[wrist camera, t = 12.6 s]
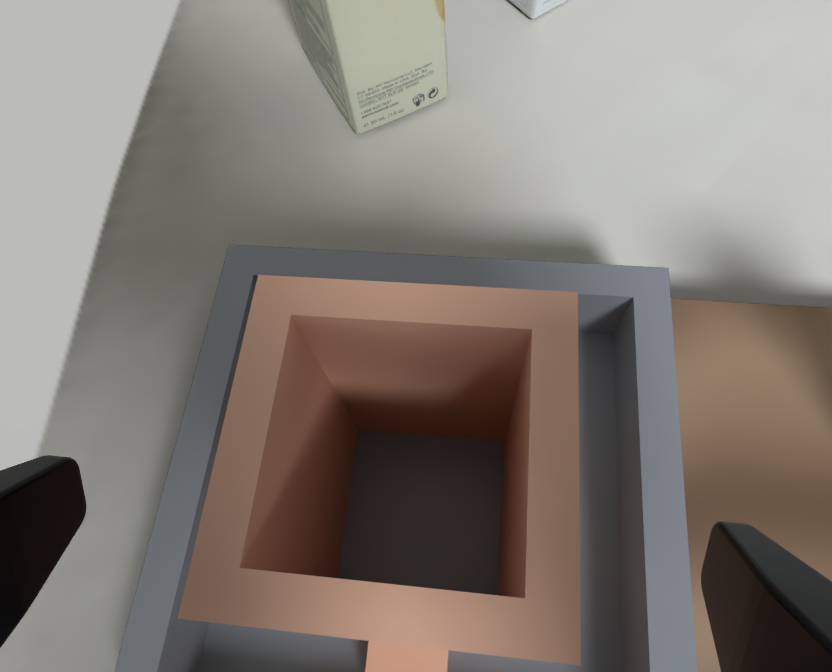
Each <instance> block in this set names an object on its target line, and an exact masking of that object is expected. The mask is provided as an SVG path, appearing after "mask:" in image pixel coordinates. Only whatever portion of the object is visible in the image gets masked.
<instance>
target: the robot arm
mask: <svg viewBox="0 0 832 672" xmlns="http://www.w3.org/2000/svg"><path fill="white" fill-rule="evenodd" d="M85 513H86V500H85V495H84V490H83V485H82V480H81V475H80V470H79V466H78V464H77V462H76V461H75V460H74V459H72V458H70V457H60V456H49V455H48V456H42V457H39V458H36V459H33V460H30V461H27V462H24V463H22V464H18V465H16V466H13V467H10V468H7V469H4V470H1V471H0V648H1V646H2V645H3V644H4V642H5V641H6V640H7V638H8V637H9V636H10V634H11V633H12V632H13V630H14V629H15V627H16V626H17V625H18V623H19V622H20V620H21V619H22V618H23V616H24V615H25V613H26V612H27V610H28V609H29V607H30V606H31V604H32V603H33V601H34V599H35V598H36V596H37V595H38V593H39V591H40V590H41V588H42V587H43V585H44V583H45V582H46V580H47V579H48V577H49V575H50V574H51V572H52V570H53V569H54V567H55V566H56V564H57V562H58V561H59V559H60V557H61V556H62V554H63V553H64V551H65V549H66V548H67V546H68V545H69V543H70V541H71V540H72V538H73V536H74V535H75V533H76V532H77V530H78V528H79V527H80V525H81V523H82V522H83V519H84V517H85ZM701 587H702V593H703V597H704V601H705V605H706V610H707V614H708V618H709V622H710V627H711V631H712V635H713V639H714V644H715V648H716V652H717V656H718V661H719V665H720V669H721V672H832V581H830V580H829V579H828V578H826V577H825V576H823V575H822V574H820V573H819V572H818V571H816V570H815V569H813V568H812V567H810V566H809V565H807V564H806V563H805V562H803V561H802V560H800V559H799V558H797V557H796V556H795V555H793V554H792V553H790V552H789V551H787V550H786V549H785V548H783V547H782V546H780V545H779V544H777V543H776V542H775V541H773V540H772V539H770V538H769V537H767V536H766V535H765V534H763V533H762V532H760V531H759V530H757V529H756V528H754V527H753V526H751V525H749V524H745V523H734V522H724V521H719V522H717V523H716V524H714V526H713V528H712V530H711V533H710V537H709V541H708V545H707V550H706V554H705V558H704V562H703V566H702V571H701Z"/></svg>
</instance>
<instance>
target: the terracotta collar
mask: <svg viewBox="0 0 832 672" xmlns="http://www.w3.org/2000/svg"><path fill="white" fill-rule="evenodd" d="M359 430H361V431H374V432H386V433H398V434H411V435H423V436H436V437H448V438H461V439H473V440H486V441H498V442H504V459H503V482H502V506H501V529H500V553H499V576H498V595H489V594H480V593H471V592H461V591H452V590H442V589H433V588H424V587H414V586H405V585H396V584H386V583H377V582H368V581H358V580H349V579H339V578H338V573H339V566H340V559H341V552H342V545H343V538H344V531H345V524H346V517H347V510H348V503H349V496H350V488H351V481H352V474H353V467H354V460H355V453H356V446H357V439H358V432H359ZM178 619H187V620H195V621H204V622H212V623H221V624H229V625H238V626H246V627H255V628H263V629H272V630H280V631H289V632H297V633H306V634H315V635H323V636H332V637H340V638H349V639H357V640H366V641H369V643H368V651H367V660H366V668H365V672H448V658H449V650H451V651H460V652H468V653H477V654H485V655H494V656H502V657H511V658H519V659H528V660H536V661H545V662H553V663H562V664H571V665H579V666H581V635H580V509H579V383H578V292H568V291H550V290H531V289H512V288H494V287H475V286H457V285H438V284H420V283H401V282H383V281H364V280H345V279H327V278H308V277H290V276H271V275H258V278H257V282H256V286H255V290H254V295H253V299H252V303H251V307H250V312H249V316H248V320H247V324H246V329H245V333H244V337H243V341H242V346H241V350H240V354H239V359H238V363H237V367H236V371H235V376H234V380H233V384H232V388H231V393H230V397H229V401H228V405H227V410H226V414H225V418H224V422H223V427H222V431H221V435H220V440H219V444H218V448H217V452H216V457H215V461H214V465H213V469H212V474H211V478H210V482H209V486H208V491H207V495H206V499H205V503H204V508H203V512H202V516H201V520H200V525H199V529H198V533H197V538H196V542H195V546H194V550H193V555H192V559H191V563H190V567H189V572H188V576H187V580H186V584H185V589H184V593H183V597H182V601H181V606H180V610H179V614H178Z"/></svg>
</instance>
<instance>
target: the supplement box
mask: <svg viewBox="0 0 832 672" xmlns="http://www.w3.org/2000/svg"><path fill="white" fill-rule="evenodd" d="M509 1H511V2H512V3H513V4H514V5H515V6H517V7H518V8H519V9H520V10H522V11H523V12H524V13H525V14H526V15H527V16H528V17H530V18H531V19H534V18H536V17H538V16H540V15H542V14H544V13H546V12H547V11H549V10H551V9H553V8H555V7H557V6H558V5H560V4H562V3H564V2H566V1H567V0H509Z"/></svg>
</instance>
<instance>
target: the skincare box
mask: <svg viewBox="0 0 832 672" xmlns="http://www.w3.org/2000/svg"><path fill="white" fill-rule="evenodd" d="M289 1H290V5H291V8H292V12H293V15H294V18H295V22H296V25H297V29H298V32H299V36H300V39H301V42H302V46H303V48H304V50H305V52H306V54H307V56H308V58H309V60H310V61H311V63H312V65H313V67H314V68H315V70H316V72H317V74H318V75H319V77H320V79H321V80H322V82H323V84H324V85H325V87H326V88H327V90H328V92H329V93H330V95H331V96H332V98H333V100H334V101H335V103H336V104H337V106H338V107H339V109H340V110H341V112H342V113H343V115H344V116H345V118H346V119H347V121H348V122H349V124H350V125H351V126H352V128H353V130H354V131H355V132H356V133H357V134H361V133H364V132H366V131H369V130H371V129H374V128H376V127H379V126H381V125H383V124H386V123H388V122H391V121H394V120H396V119H398V118H401V117H403V116H405V115H408V114H410V113H412V112H415V111H417V110H419V109H421V108H424V107H426V106H428V105H430V104H432V103H434V102H436V101H438V100H441V99H443V98H445V97H447V96H448V74H447V55H446V32H445V14H444V0H289Z"/></svg>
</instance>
